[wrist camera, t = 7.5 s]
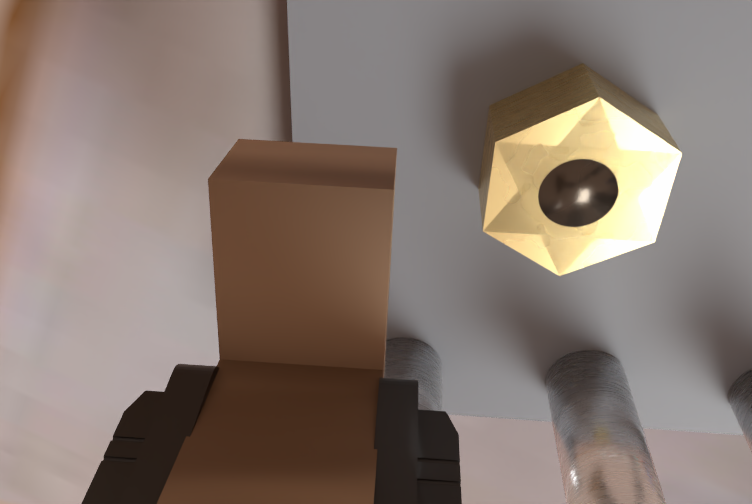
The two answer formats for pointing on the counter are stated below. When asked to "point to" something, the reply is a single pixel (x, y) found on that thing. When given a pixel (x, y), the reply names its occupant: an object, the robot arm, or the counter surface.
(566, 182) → the nut
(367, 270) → the wooden stepped block
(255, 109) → the counter surface
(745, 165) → the board
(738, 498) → the counter surface
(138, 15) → the counter surface
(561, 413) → the spacers
